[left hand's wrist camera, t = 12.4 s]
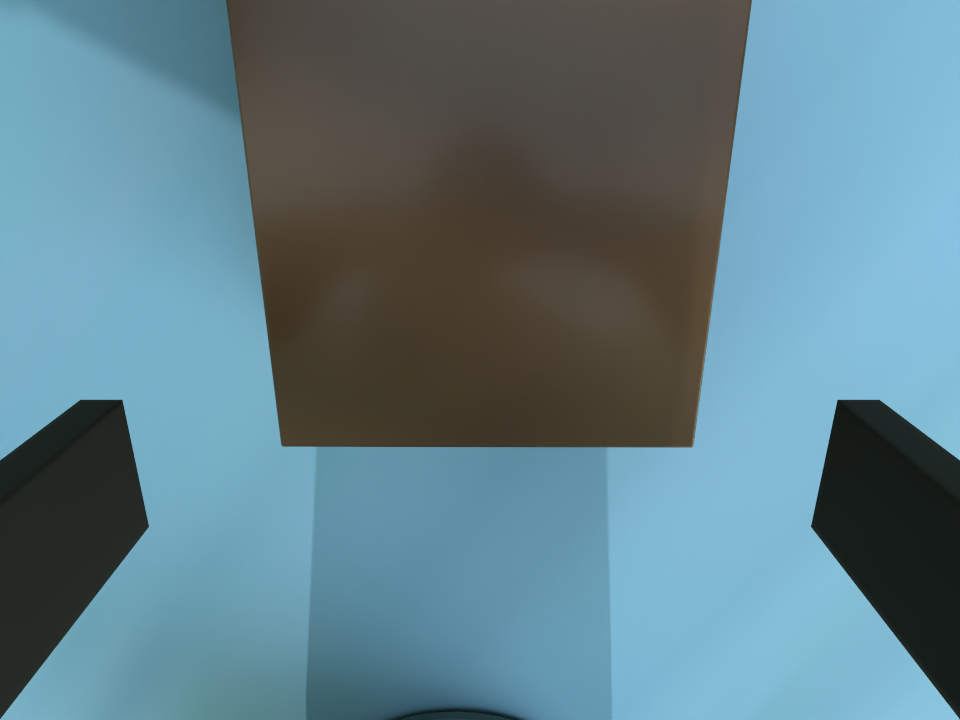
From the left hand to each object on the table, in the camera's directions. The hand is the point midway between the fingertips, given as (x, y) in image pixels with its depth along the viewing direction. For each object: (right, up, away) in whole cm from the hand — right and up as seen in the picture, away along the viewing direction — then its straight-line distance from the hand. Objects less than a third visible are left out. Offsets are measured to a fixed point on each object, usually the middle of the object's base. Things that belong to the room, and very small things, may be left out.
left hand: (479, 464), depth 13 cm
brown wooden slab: (0, +12, +10) cm, 15 cm away
